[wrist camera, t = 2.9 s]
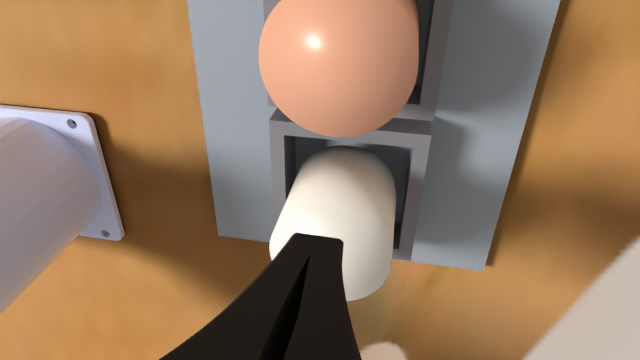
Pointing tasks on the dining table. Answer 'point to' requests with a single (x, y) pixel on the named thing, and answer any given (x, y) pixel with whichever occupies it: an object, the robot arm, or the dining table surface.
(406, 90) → the button terracotta
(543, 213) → the dining table surface
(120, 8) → the dining table surface
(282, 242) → the button cream
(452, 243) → the panel
